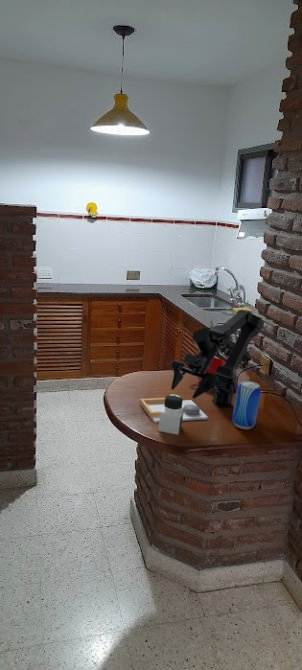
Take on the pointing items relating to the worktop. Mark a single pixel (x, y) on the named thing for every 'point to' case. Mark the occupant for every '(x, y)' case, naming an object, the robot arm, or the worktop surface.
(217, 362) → the ceramic cup
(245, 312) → the robot arm
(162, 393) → the worktop surface
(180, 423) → the medicine bottle
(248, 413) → the beer can
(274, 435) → the worktop surface
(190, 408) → the plate with orange frame
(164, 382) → the worktop surface
